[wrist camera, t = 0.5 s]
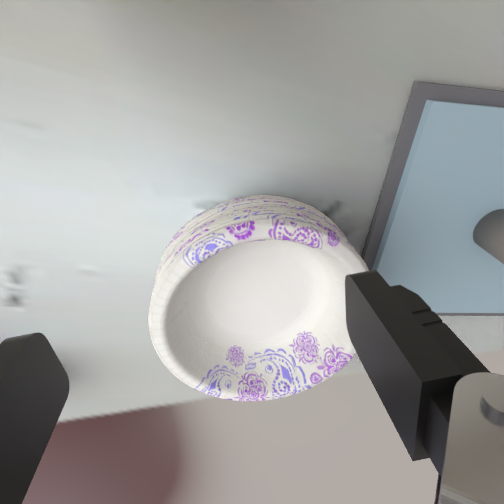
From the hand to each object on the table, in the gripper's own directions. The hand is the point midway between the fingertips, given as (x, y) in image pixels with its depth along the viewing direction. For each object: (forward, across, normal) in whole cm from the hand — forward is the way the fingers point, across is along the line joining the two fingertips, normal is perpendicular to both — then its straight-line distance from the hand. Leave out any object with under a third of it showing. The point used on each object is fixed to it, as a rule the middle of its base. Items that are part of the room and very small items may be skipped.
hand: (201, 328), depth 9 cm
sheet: (+18, -22, +9) cm, 30 cm away
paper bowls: (+18, -2, +9) cm, 21 cm away
